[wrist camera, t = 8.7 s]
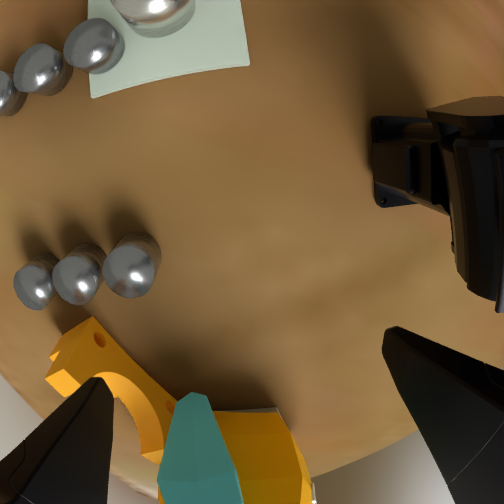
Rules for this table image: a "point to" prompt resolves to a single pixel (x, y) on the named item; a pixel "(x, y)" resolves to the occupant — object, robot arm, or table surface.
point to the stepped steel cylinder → (155, 15)
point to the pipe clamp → (113, 381)
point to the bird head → (231, 458)
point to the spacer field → (84, 255)
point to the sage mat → (174, 46)
